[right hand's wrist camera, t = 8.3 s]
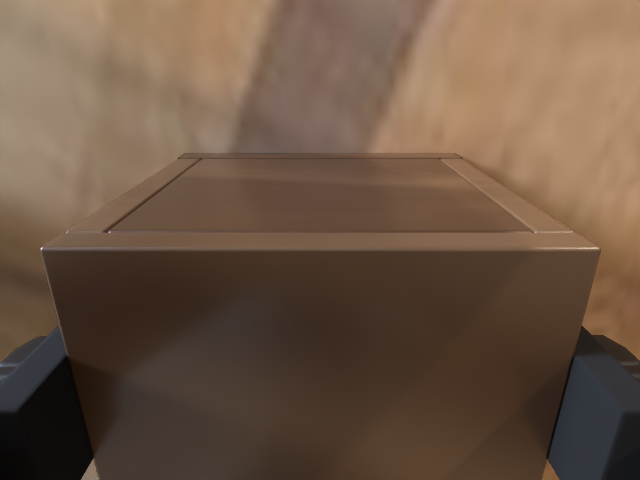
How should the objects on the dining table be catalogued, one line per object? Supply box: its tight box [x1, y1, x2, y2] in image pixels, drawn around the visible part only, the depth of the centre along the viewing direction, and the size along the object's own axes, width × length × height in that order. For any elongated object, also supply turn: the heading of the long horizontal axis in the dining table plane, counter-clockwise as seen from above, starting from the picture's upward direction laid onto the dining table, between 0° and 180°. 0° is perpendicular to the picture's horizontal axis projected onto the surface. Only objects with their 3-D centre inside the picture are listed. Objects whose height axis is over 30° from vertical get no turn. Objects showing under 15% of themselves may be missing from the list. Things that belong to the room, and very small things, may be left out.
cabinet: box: [40, 154, 601, 480], centre depth 15 cm, size 17×10×9 cm, turn 0°
